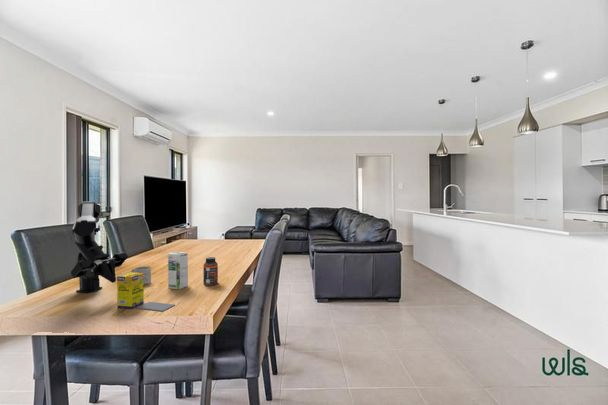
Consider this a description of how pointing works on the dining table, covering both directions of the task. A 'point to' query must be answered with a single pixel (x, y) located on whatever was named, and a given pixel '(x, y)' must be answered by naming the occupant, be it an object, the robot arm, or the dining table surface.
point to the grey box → (144, 273)
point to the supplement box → (130, 290)
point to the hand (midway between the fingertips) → (114, 281)
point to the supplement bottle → (210, 271)
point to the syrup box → (177, 270)
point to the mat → (155, 306)
